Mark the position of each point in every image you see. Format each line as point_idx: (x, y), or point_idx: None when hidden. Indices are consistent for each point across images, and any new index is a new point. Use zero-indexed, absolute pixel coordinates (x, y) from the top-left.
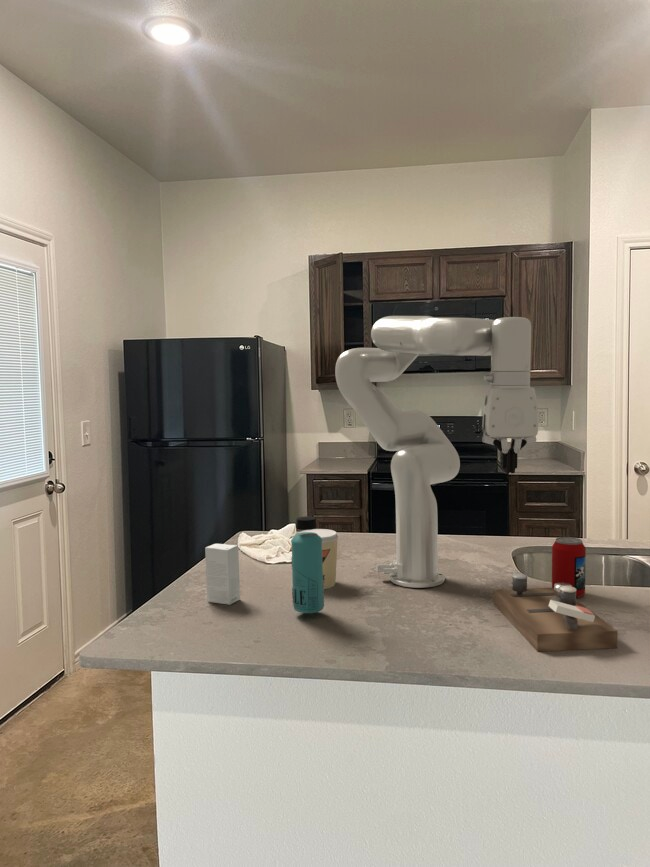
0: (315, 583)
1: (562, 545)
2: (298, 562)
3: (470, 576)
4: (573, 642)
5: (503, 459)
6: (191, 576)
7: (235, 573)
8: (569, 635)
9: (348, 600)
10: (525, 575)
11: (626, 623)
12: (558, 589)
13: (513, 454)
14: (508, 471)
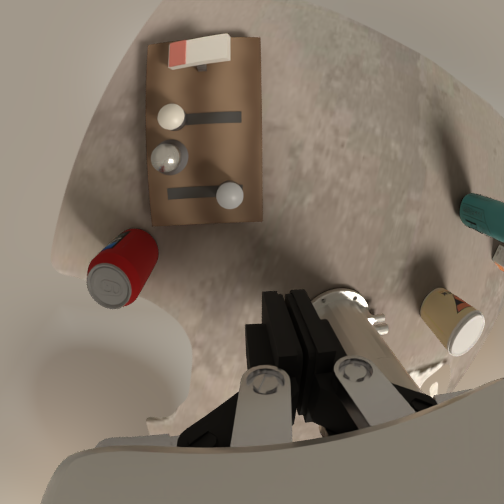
0: (489, 201)
1: (124, 268)
2: None
3: None
4: None
5: (335, 344)
6: (495, 319)
7: None
8: None
9: (426, 249)
10: (218, 195)
11: (102, 132)
12: (176, 148)
13: (291, 352)
14: (299, 290)
